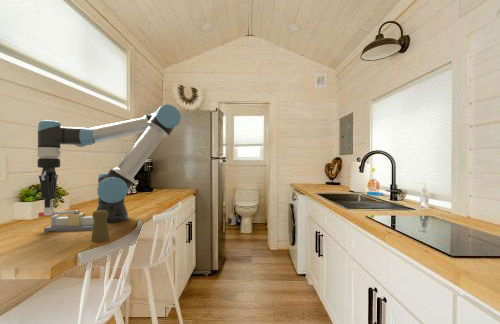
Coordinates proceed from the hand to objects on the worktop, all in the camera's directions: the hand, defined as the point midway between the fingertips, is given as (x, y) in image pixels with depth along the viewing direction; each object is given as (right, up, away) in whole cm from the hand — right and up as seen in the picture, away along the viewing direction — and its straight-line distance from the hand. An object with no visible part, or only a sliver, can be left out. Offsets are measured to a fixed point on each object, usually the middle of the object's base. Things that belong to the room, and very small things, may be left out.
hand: (48, 215), depth 109 cm
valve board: (+7, -7, +7) cm, 12 cm away
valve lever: (+2, -1, +4) cm, 4 cm away
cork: (+27, -7, -10) cm, 30 cm away
